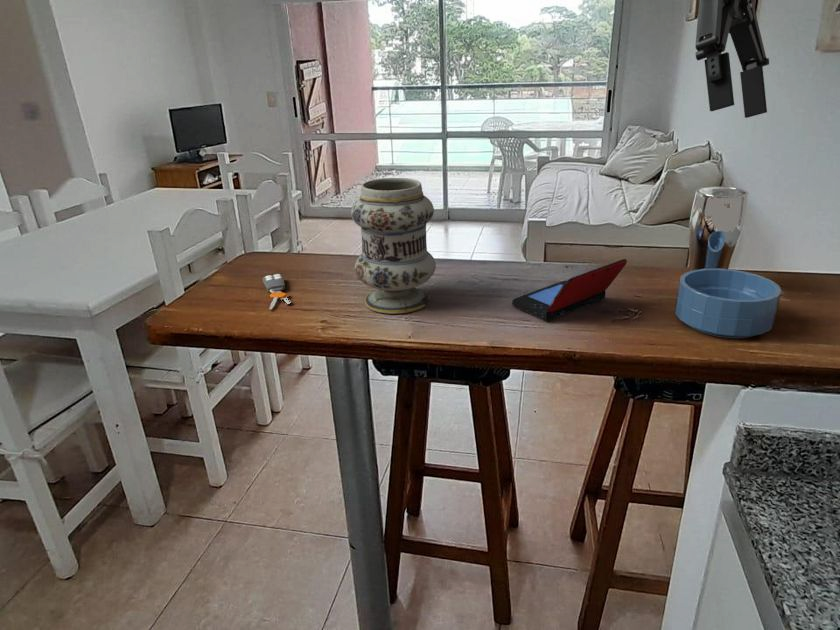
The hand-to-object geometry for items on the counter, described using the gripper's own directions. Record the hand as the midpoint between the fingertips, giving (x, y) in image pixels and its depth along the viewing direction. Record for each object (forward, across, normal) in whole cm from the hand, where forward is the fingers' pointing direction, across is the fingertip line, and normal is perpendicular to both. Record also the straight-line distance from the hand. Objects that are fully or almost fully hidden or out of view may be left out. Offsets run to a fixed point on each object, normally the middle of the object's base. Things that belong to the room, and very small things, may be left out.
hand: (739, 112), depth 78 cm
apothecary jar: (+19, +32, -40) cm, 55 cm away
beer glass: (+24, 0, -8) cm, 26 cm away
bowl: (+28, +9, -2) cm, 29 cm away
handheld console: (+23, +18, -20) cm, 35 cm away
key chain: (+15, +43, -56) cm, 73 cm away
